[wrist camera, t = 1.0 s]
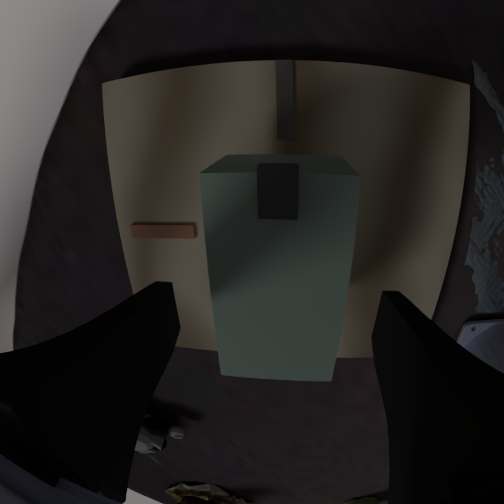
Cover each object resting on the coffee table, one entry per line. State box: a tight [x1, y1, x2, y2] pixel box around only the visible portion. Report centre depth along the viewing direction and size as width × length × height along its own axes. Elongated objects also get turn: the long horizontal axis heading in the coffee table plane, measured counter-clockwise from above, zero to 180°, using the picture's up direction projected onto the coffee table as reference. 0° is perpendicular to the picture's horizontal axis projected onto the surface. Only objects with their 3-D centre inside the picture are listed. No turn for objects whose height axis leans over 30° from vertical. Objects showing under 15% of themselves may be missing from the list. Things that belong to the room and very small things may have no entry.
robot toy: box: [134, 413, 184, 454], centre depth 28 cm, size 12×4×15 cm
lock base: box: [102, 60, 470, 357], centre depth 17 cm, size 20×18×3 cm
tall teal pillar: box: [199, 154, 360, 381], centre depth 13 cm, size 5×9×5 cm, turn 2°
